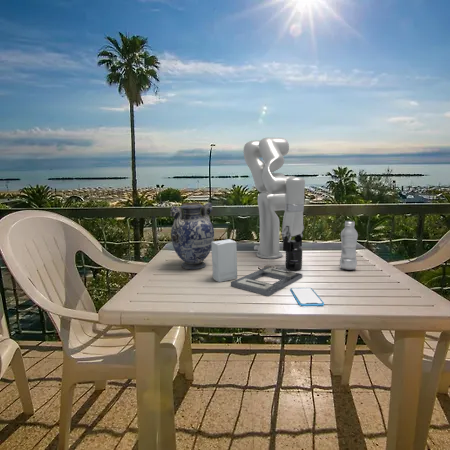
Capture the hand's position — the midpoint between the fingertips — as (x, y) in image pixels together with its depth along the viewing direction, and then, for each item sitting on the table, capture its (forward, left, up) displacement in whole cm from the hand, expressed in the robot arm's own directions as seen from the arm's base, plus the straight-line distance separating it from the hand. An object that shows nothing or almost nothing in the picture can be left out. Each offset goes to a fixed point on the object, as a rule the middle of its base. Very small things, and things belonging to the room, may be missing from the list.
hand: (292, 248), depth 134 cm
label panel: (+1, -21, -9) cm, 22 cm away
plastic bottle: (+19, +12, -9) cm, 24 cm away
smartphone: (+19, -26, -9) cm, 33 cm away
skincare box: (-14, -28, -9) cm, 32 cm away
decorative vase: (-36, -23, -9) cm, 43 cm away
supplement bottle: (+1, 0, -9) cm, 9 cm away
